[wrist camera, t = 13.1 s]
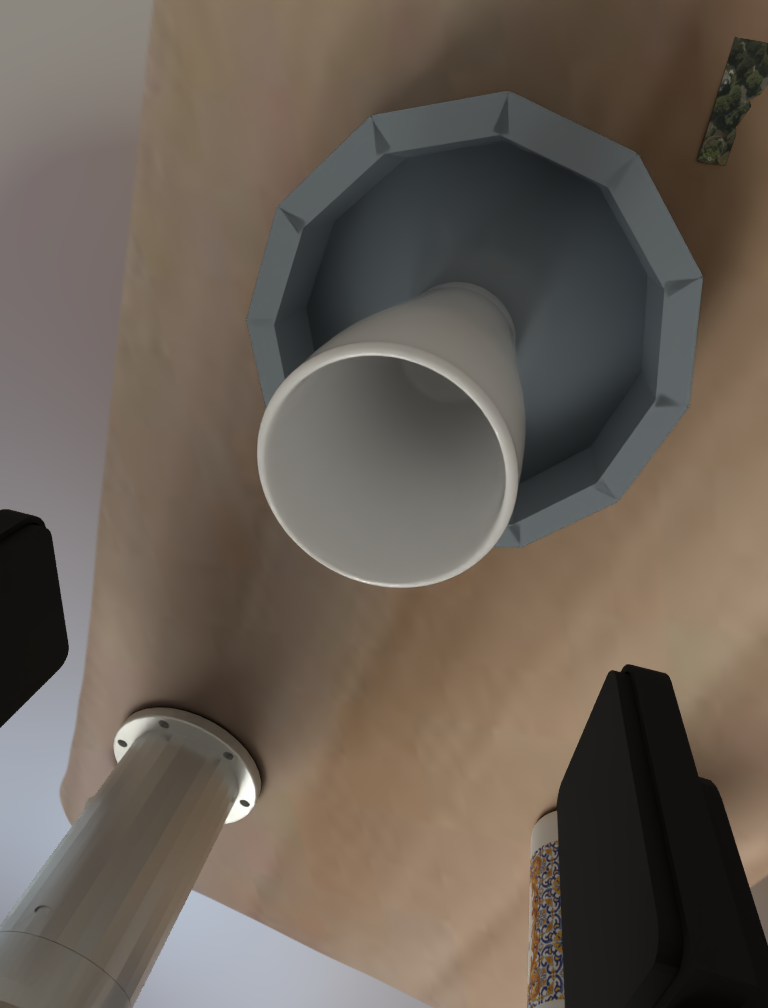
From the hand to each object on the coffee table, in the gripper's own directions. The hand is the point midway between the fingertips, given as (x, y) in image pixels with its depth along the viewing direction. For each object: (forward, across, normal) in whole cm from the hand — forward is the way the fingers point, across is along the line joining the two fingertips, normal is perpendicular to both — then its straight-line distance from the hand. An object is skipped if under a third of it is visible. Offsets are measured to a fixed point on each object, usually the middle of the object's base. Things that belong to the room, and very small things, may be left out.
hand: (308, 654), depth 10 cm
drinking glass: (+21, 0, -1) cm, 21 cm away
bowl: (+22, 0, -1) cm, 22 cm away
